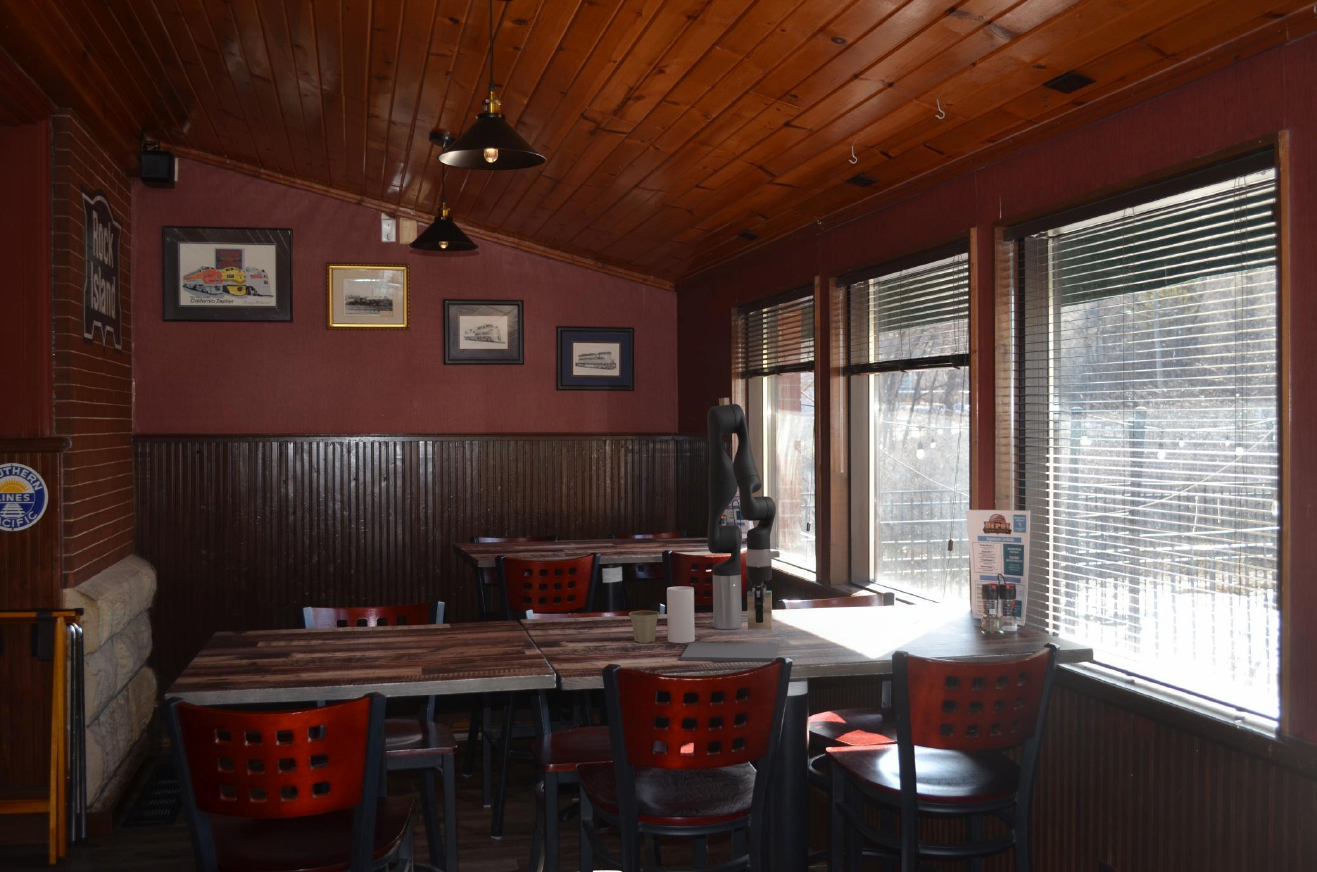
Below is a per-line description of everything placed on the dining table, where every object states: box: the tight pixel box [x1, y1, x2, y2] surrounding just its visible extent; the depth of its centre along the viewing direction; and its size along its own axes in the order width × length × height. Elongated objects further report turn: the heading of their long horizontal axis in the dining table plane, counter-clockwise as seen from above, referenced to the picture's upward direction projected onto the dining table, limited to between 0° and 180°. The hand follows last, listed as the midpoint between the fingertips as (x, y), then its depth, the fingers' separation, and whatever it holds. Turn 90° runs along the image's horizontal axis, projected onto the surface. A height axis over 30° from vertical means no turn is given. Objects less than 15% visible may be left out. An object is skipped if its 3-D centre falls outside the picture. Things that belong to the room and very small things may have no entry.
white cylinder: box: [666, 585, 696, 644], centre depth 328 cm, size 8×8×16 cm
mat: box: [680, 641, 780, 663], centre depth 306 cm, size 22×26×1 cm
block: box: [746, 590, 773, 631], centre depth 320 cm, size 4×7×11 cm, turn 82°
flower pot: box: [628, 610, 660, 644], centre depth 328 cm, size 9×9×9 cm
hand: (759, 620), depth 320 cm, fingers closed on block, 4 cm apart
